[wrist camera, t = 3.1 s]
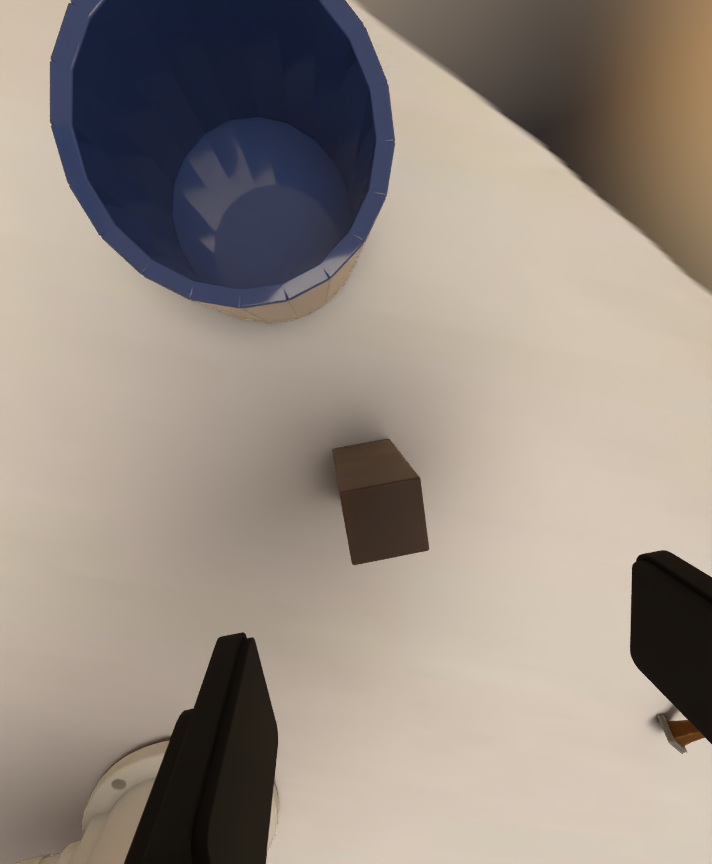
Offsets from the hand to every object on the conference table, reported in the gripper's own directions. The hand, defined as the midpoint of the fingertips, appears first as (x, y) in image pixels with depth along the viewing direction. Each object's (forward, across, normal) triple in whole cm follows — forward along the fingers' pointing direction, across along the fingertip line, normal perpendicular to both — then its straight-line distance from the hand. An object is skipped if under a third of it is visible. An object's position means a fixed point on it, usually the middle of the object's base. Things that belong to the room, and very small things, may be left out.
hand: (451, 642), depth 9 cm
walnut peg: (+14, 0, 0) cm, 14 cm away
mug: (+14, +4, -15) cm, 21 cm away
